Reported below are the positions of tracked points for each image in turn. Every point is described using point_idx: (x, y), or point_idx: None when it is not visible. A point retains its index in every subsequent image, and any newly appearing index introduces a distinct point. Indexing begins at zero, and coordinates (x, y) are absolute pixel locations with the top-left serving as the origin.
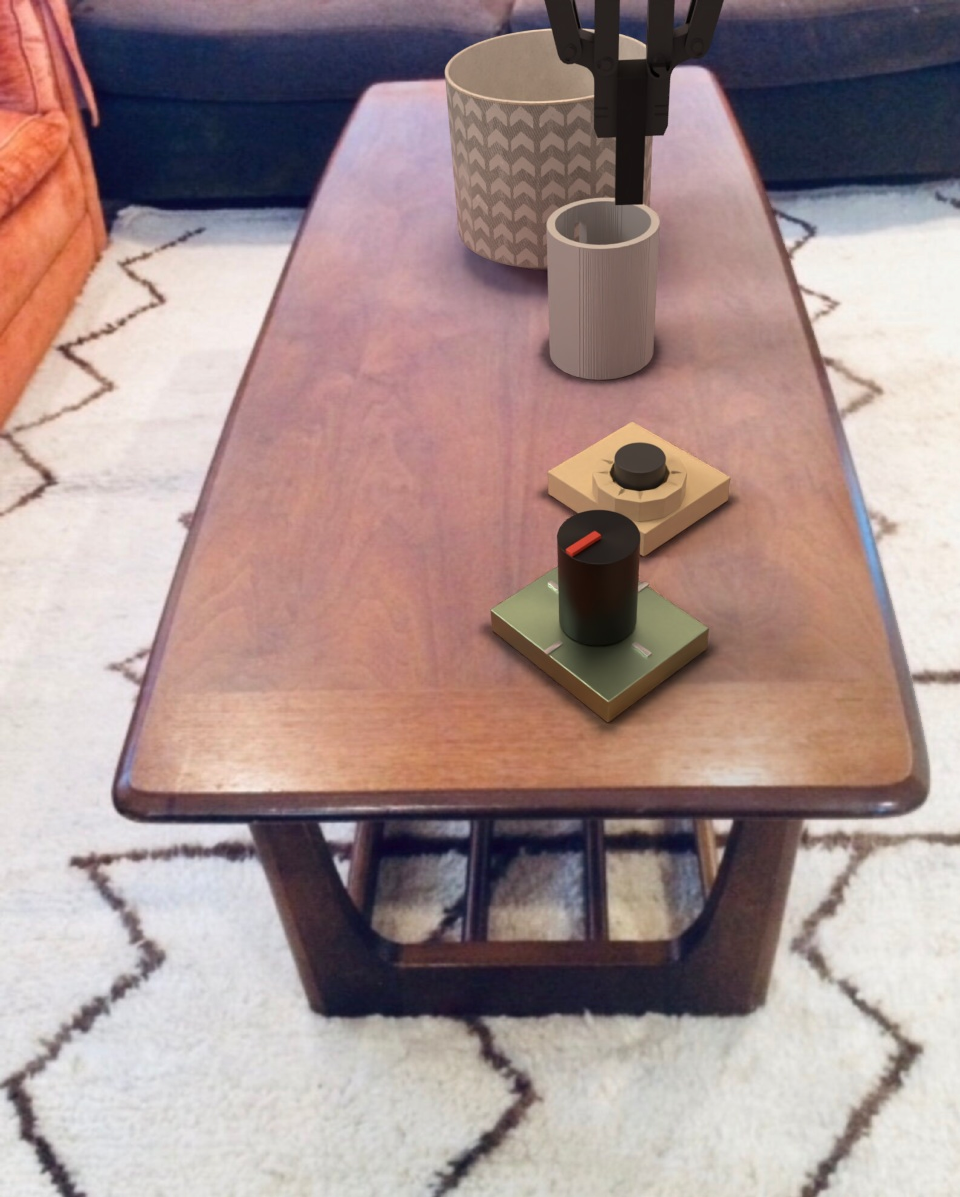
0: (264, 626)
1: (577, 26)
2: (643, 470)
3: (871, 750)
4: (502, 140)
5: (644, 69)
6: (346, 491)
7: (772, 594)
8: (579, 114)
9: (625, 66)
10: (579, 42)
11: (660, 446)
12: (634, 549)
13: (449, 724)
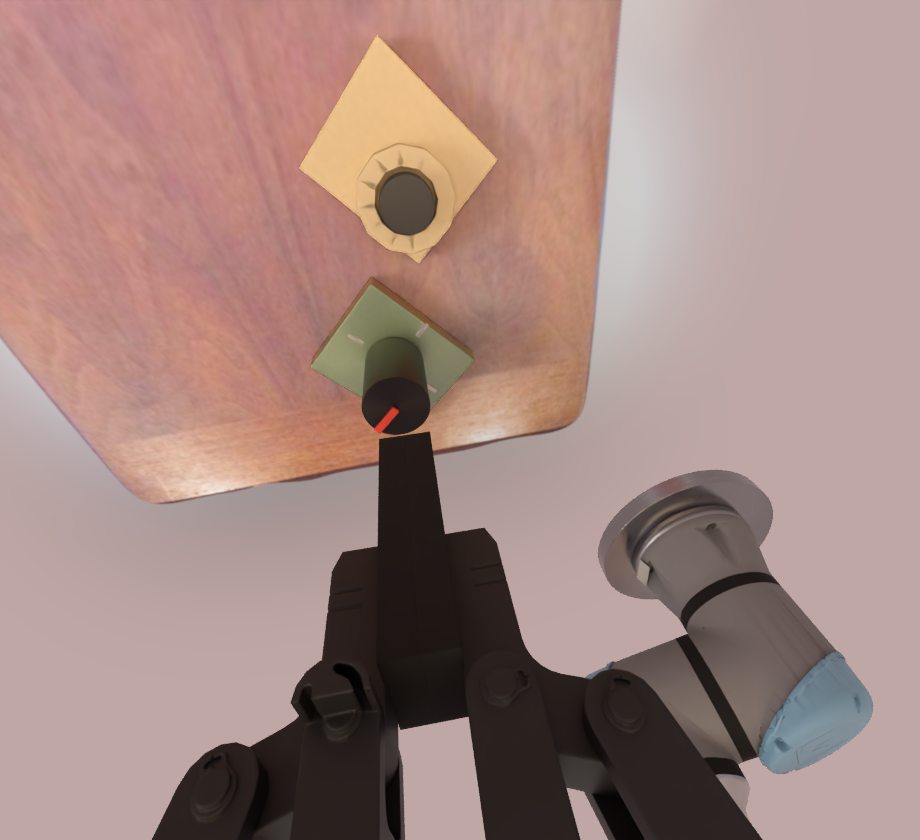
0: (127, 380)
1: None
2: (413, 230)
3: (562, 407)
4: None
5: (461, 690)
6: (65, 183)
7: (521, 288)
8: None
9: (408, 685)
10: None
11: (419, 100)
12: (427, 416)
13: (314, 434)
